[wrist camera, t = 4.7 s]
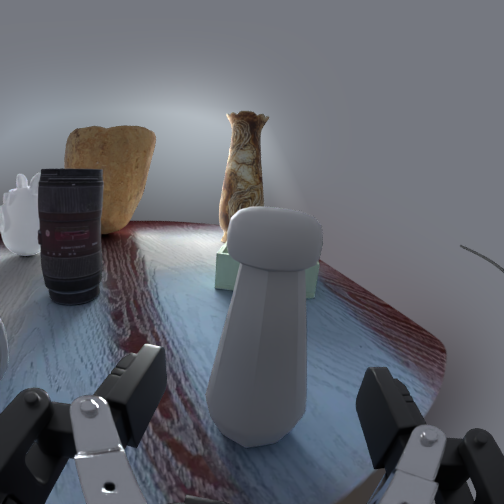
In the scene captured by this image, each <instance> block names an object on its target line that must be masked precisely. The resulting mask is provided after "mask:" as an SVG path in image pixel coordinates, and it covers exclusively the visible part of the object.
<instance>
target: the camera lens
mask: <svg viewBox="0 0 504 504" xmlns="http://www.w3.org/2000/svg"><path fill="white" fill-rule="evenodd" d="M38 184H39V186H38V215H39V223H40V229H39V230H38V244H39V245H40V248H41V252H40V256H41V268H42V273H43V277H44V282H45V286H46V287H47V288H48V289H49V294H50V298H51V299H52V300H53V301H54V302H56V303H59V304H66V305H74V304H81V303H85V302H89V301H91V300H93V299H94V298H96V297H97V296H98V295H99V292H100V288H99V283H100V282H101V279H102V249H101V216H102V208H103V188H104V181H103V170H102V169H72V168H69V169H42V170H41V176H40V181H39V182H38Z"/></svg>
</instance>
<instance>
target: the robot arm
mask: <svg viewBox="0 0 504 504" xmlns="http://www.w3.org/2000/svg"><path fill="white" fill-rule="evenodd" d="M460 247H462V248H464V249H466V250H468V251H470V252H472V253H474V254H477V255H478V256H480V257H482V258H484V259H486V260H487V261H489V262H491V263H492V264H493V265H495V266H496V267H497V268H499V269H500V270H501V271H502V272H503V273H504V269H503V268H501V267H500V266H499V265H498V264H496V263H495V262H493V261H492V260H490V259H488V258H487V257H485V256H483V255H481V254H479V253H477V252H475V251H473V250H471V249H468V248H467V247H464V246H462V245H460ZM166 384H167V372H166V358H165V349H164V347H160V346H155V345H150V344H144V346H143V347H142V348H141V350H140V351H139V352H138V354H134V353H131V354H129V355H127V356H125V357H124V358H122V359H121V360H120V361H119V363H118V364H117V365H116V368H114V369H113V370H112V371H111V374H109V375H108V376H107V378H106V379H105V380H104V382H103V383H102V384H101V385H100V387H99V388H98V389H97V390H96V392H95V393H94V394H93V395H85V396H81V397H78V398H77V399H75V400H74V401H73V402H72V403H71V404H66V403H58V402H51V400H50V397H49V395H48V393H47V392H46V391H44V390H43V389H40V388H28V389H25V390H23V391H21V392H20V393H19V394H18V395H17V396H16V397H15V398H14V399H13V401H12V402H11V403H10V404H9V405H8V406H7V407H6V408H5V409H4V411H3V412H2V413H1V414H0V504H45V502H46V500H47V498H48V496H49V494H50V492H51V491H52V489H53V487H54V485H55V483H56V481H57V479H58V478H59V476H60V474H61V472H62V470H63V469H64V467H65V465H66V463H67V461H68V460H69V458H72V459H75V463H76V468H77V472H78V476H79V480H80V484H81V487H82V491H83V494H84V498H85V501H86V504H147V501H146V499H145V497H144V495H143V493H142V491H141V489H140V487H139V485H138V482H137V480H136V478H135V475H134V473H133V471H132V468H131V466H130V464H129V461H128V459H127V456H126V453H125V451H124V450H125V448H126V446H127V445H128V446H131V447H135V448H137V447H138V445H139V443H140V441H141V439H142V437H143V434H144V432H145V430H146V428H147V426H148V424H149V422H150V420H151V418H152V416H153V414H154V412H155V410H156V408H157V406H158V404H159V402H160V400H161V398H162V396H163V394H164V392H165V389H166ZM356 411H357V414H358V417H359V420H360V424H361V427H362V430H363V433H364V437H365V440H366V443H367V447H368V450H369V454H370V457H371V460H372V464H373V468H374V469H380V468H385V470H386V473H385V475H384V476H383V478H382V479H381V481H380V483H379V485H378V486H377V488H376V489H375V491H374V493H373V494H372V496H371V498H370V499H369V501H368V502H367V504H432V502H433V500H435V503H436V504H504V456H503V454H502V452H501V450H500V448H499V447H498V445H497V443H496V442H495V440H494V438H493V437H492V435H491V434H490V433H489V432H487V431H486V430H483V429H479V428H475V429H471V430H469V431H468V432H467V433H466V435H465V436H464V438H463V439H457V438H456V439H455V438H446V436H445V434H444V433H443V431H442V430H440V429H439V428H437V427H435V426H432V425H427V424H426V422H425V420H424V418H423V416H422V415H421V413H420V411H419V409H418V407H417V405H416V404H415V402H414V400H413V398H412V396H410V393H409V391H408V389H407V388H406V386H405V385H404V384H403V383H402V382H400V381H399V380H398V379H397V378H396V379H393V377H392V375H391V373H390V372H389V370H388V368H387V367H369V368H368V369H367V370H366V372H365V375H364V378H363V381H362V384H361V387H360V389H359V392H358V395H357V398H356ZM32 444H33V445H32ZM30 447H31V448H30ZM28 450H29V451H28ZM26 453H27V454H26ZM469 478H471V481H472V483H473V485H474V488H475V490H476V499H475V501H474V499H473V497H472V494H471V492H470V489H469V487H468V484H467V482H466V481H467V480H468V479H469ZM169 504H229V503H226V502H223V501H218V500H211V499H205V498H200V497H194V496H189V495H186V498H185V501H184V503H169Z"/></svg>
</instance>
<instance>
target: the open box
mask: <svg viewBox="0 0 504 504" xmlns="http://www.w3.org/2000/svg"><path fill="white" fill-rule="evenodd" d="M319 265H320V264H319V262H317V264H316V265H315V266H313V267H310V268H308V269H305V282H306V298H311V299H314V296H315V290H316V284H317V278H318V272H319ZM239 266H240V263H239V262H237V261H236V260H234V259H232V257H231V256H230V255H229V253H228V249H227V241H226V243H225V244H224V245H223V246H222V248H221V249H220V250H219V251H218V253H217V257H216V274H215V288H216V289H225V290H234V286H235V282H236V278H237V274H238V270H239Z"/></svg>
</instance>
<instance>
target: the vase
mask: <svg viewBox="0 0 504 504" xmlns="http://www.w3.org/2000/svg"><path fill="white" fill-rule="evenodd" d="M226 115H227V118H228V119H229V121H230V123H231V126H232V137H231V144H230V150H229V156H228V162H227V167H226V173H225V177H224V183H223V189H222V194H221V199H220V208H219V222H220V226H221V228H222V230H223V231H224V236H223V238H222V239H221V241H222V242H224V243H226V241H227V231H228V227H229V223H230V219H231V217H232V216H233V215H234V214H235V213H236V212H237V211H238V210H241V209H244V208H248V207H258V206H264V198H263V182H262V170H261V169H262V167H261V147H260V137H261V136H260V135H261V130H262V128H263V126H264V125H265V123H266V122H267V120H268V119H269V117H268V116H266V117H265V116H264V114H259V115H256V114H255V113H254V112H251V111H240V112H239V113H238V114H236V113H234V112H232V113H231V115H229V114H226Z"/></svg>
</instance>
